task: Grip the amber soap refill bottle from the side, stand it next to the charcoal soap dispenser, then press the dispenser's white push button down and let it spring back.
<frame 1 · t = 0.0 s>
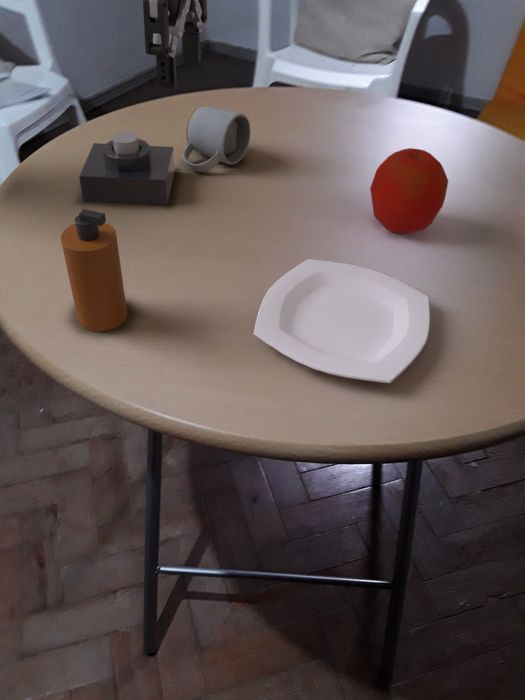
hand: (180, 74, 80), 18 cm above the table, tool pointing down, fingers open, 8 cm apart
apple: (400, 226, 89), on the table
soap bottle: (102, 315, 73), on the table
white push button: (126, 143, 89), point 7 cm above the table, slide at 0.1 cm
ceramic mug: (214, 160, 101), on the table
plate: (342, 327, 73), on the table
dispenser: (130, 185, 94), on the table
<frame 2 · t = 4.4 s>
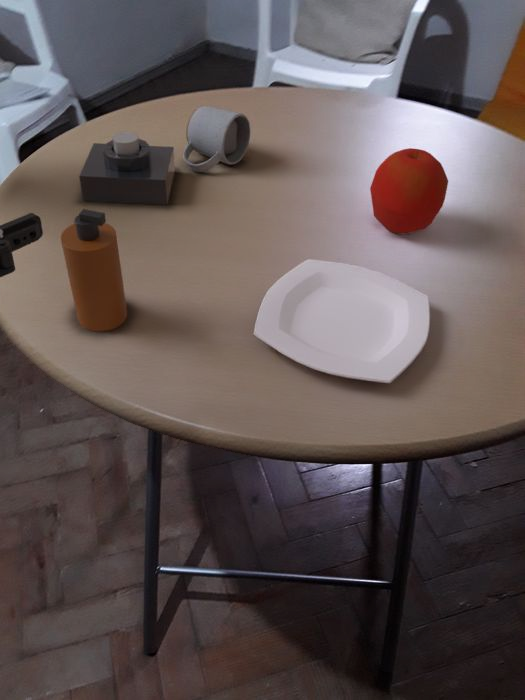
hand: (7, 206, 56), 18 cm above the table, tool horizontal, fingers open, 8 cm apart
nothing on the table moved.
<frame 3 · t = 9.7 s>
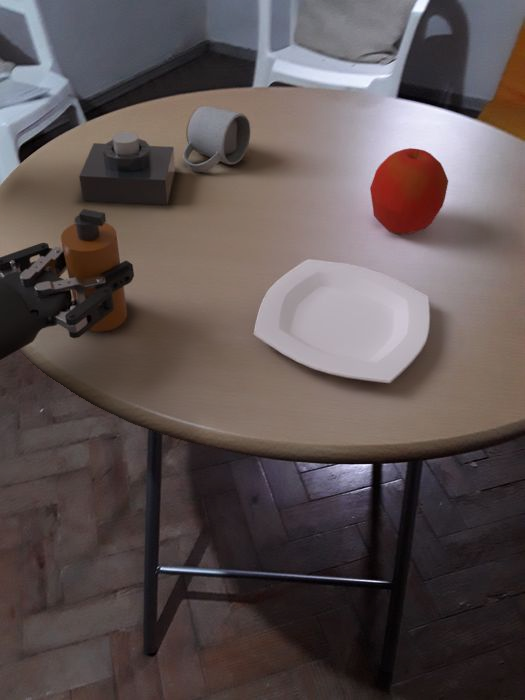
hand: (112, 256, 69), 7 cm above the table, tool horizontal, fingers closed on soap bottle, 5 cm apart
soap bottle: (102, 315, 73), on the table, touching gripper
everything else where it was.
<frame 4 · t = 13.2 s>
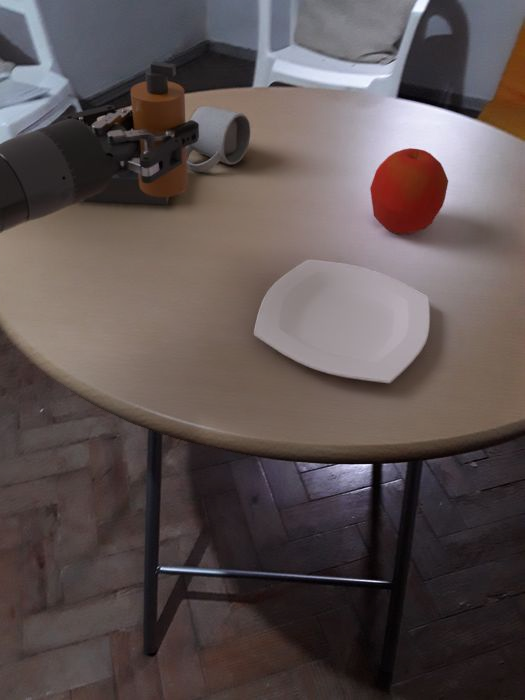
hand: (176, 120, 70), 18 cm above the table, tool horizontal, fingers closed on soap bottle, 5 cm apart
soap bottle: (163, 184, 74), point 11 cm above the table, touching gripper
everything else where it was.
when the fingers open (7 cm above the table, at t = 17.0 s): soap bottle stays where it is, on the table.
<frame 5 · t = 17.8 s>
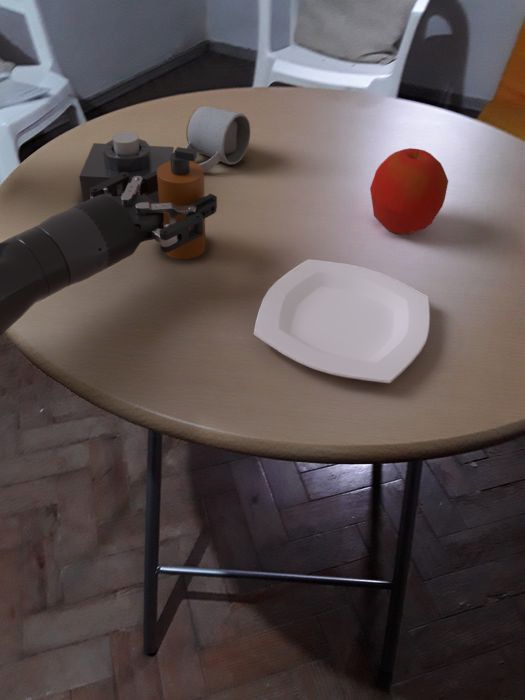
hand: (190, 188, 79), 8 cm above the table, tool horizontal, fingers open, 8 cm apart
soap bottle: (184, 247, 83), on the table
everything else where it was.
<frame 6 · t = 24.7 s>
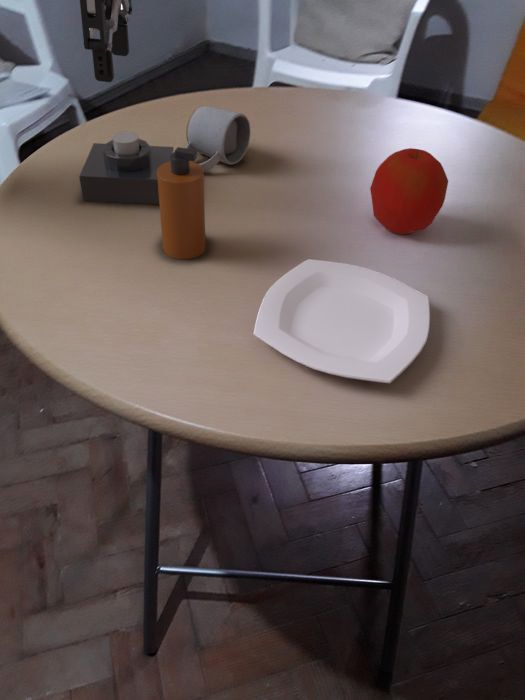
hand: (113, 67, 81), 17 cm above the table, tool pointing down, fingers open, 8 cm apart
nothing on the table moved.
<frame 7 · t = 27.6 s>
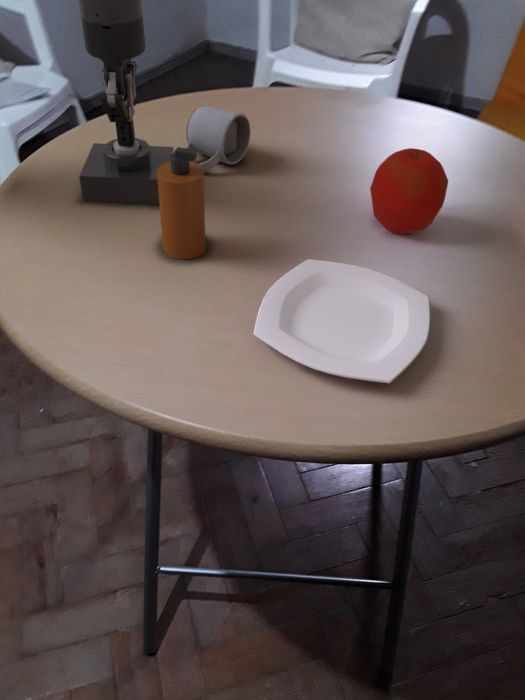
hand: (126, 144, 89), 7 cm above the table, tool pointing down, fingers closed
white push button: (127, 150, 90), point 6 cm above the table, slide at -1.0 cm, touching gripper
everything else where it was.
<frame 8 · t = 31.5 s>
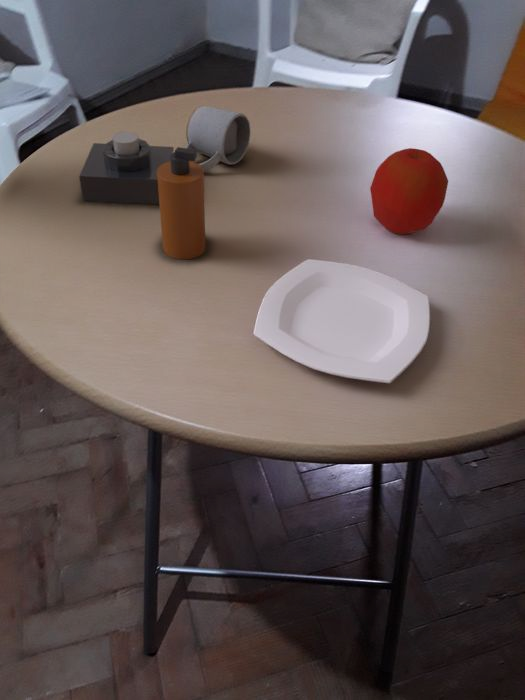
white push button: (126, 143, 89), point 7 cm above the table, slide at 0.1 cm
everything else where it was.
at the end: soap bottle 0.1 cm from the target spot on the table beside the dispenser, on the table; soap bottle tilted 0°; white push button pushed in 1.3 cm at the most during the clip, back to where it started at the end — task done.
